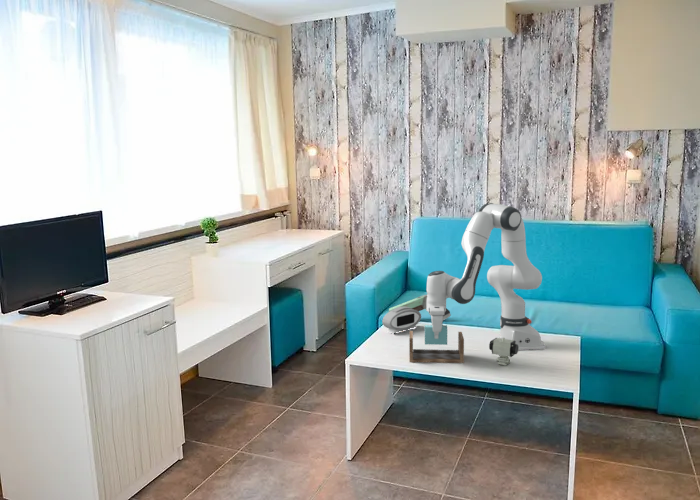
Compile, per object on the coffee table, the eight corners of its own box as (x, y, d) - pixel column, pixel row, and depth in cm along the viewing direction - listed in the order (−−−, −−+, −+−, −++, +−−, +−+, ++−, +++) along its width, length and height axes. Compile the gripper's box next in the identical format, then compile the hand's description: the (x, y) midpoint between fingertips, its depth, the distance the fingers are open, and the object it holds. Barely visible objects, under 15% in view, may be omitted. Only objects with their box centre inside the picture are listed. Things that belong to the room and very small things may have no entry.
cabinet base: (461, 354, 277) (461, 331, 275) (463, 363, 265) (463, 339, 263) (409, 353, 279) (409, 331, 278) (409, 362, 267) (409, 338, 266)
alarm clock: (390, 336, 310) (390, 312, 308) (382, 333, 314) (382, 309, 313) (421, 328, 324) (421, 305, 322) (413, 325, 329) (413, 303, 327)
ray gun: (451, 317, 334) (438, 285, 332) (398, 337, 339) (385, 305, 337) (451, 314, 341) (438, 282, 339) (399, 334, 346) (386, 303, 344)
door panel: (446, 342, 272) (446, 325, 271) (447, 344, 269) (447, 327, 268) (424, 342, 273) (424, 325, 272) (424, 344, 270) (424, 327, 269)
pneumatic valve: (492, 360, 268) (493, 334, 266) (518, 365, 261) (518, 338, 260) (487, 364, 263) (488, 337, 262) (513, 368, 257) (514, 341, 255)
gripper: (428, 301, 279) (428, 330, 281) (430, 312, 259) (429, 342, 261) (442, 302, 279) (441, 330, 280) (444, 312, 258) (444, 343, 260)
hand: (436, 336), depth 270 cm, fingers closed on door panel, 3 cm apart
